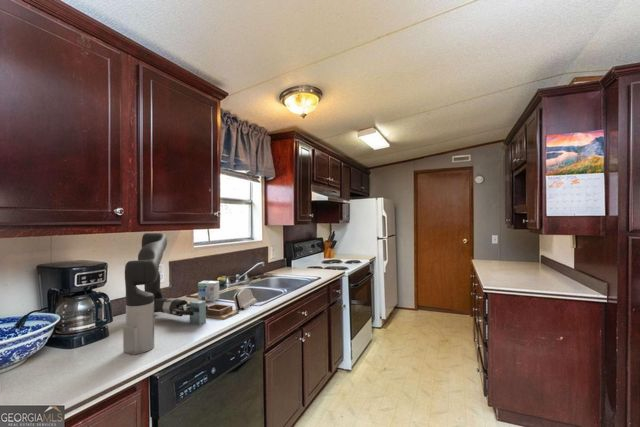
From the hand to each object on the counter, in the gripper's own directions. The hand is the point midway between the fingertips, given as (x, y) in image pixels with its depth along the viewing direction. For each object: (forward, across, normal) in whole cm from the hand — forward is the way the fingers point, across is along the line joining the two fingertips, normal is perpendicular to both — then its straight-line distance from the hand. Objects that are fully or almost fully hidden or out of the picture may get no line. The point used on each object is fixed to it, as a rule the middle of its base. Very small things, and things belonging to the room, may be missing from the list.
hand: (200, 310), depth 143 cm
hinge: (0, +32, +6) cm, 33 cm away
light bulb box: (-28, +34, +6) cm, 44 cm away
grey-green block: (-2, 0, +6) cm, 6 cm away
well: (-3, +14, +6) cm, 15 cm away
